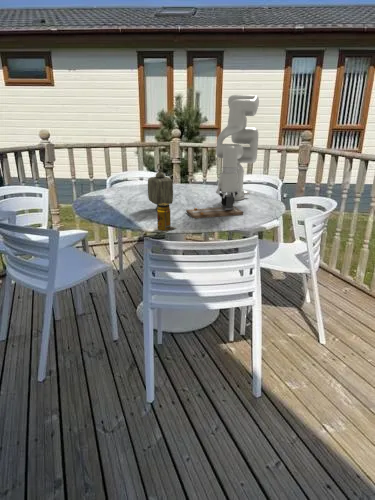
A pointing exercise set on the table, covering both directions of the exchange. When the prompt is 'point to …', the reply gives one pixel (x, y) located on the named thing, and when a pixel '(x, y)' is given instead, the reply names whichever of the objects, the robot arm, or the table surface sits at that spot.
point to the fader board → (213, 212)
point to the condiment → (164, 218)
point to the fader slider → (228, 203)
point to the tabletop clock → (160, 188)
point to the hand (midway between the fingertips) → (227, 204)
